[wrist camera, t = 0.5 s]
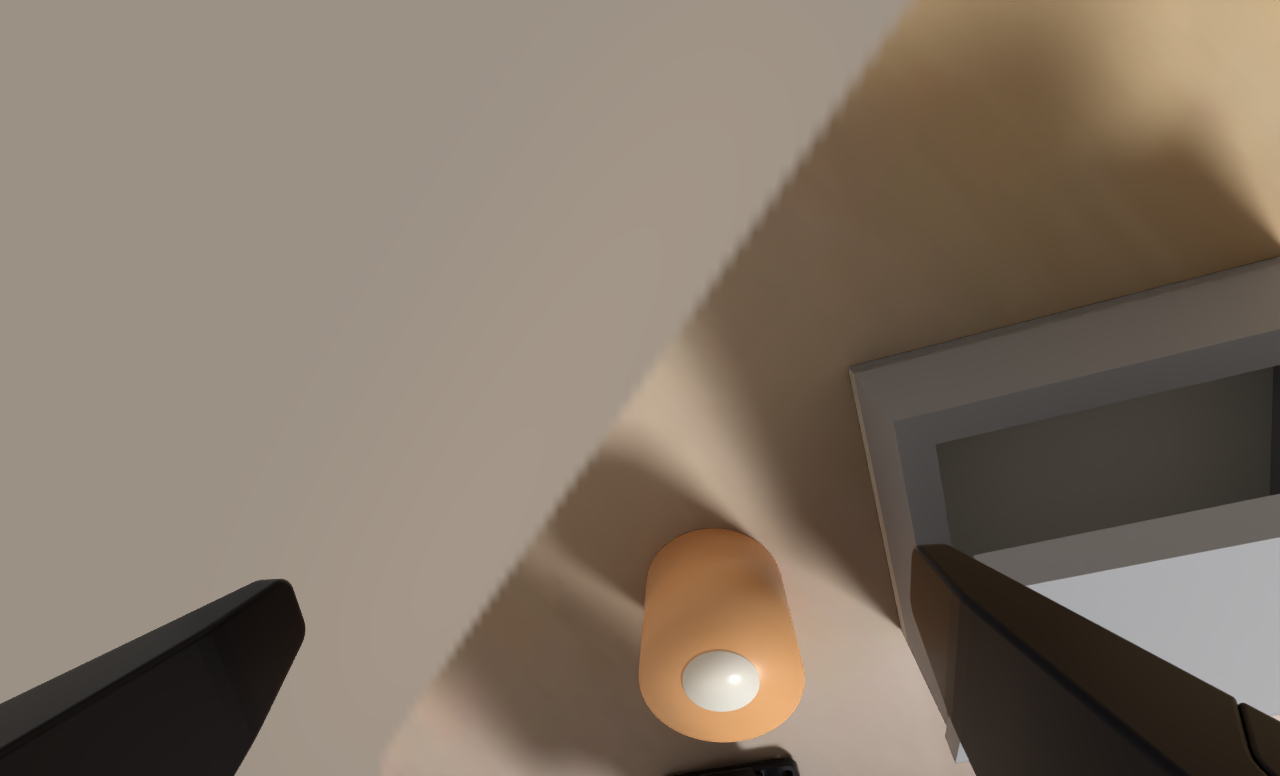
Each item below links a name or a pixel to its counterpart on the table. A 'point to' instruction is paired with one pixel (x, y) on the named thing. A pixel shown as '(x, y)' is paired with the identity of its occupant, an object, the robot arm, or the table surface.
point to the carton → (1075, 423)
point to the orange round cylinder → (718, 639)
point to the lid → (1173, 592)
